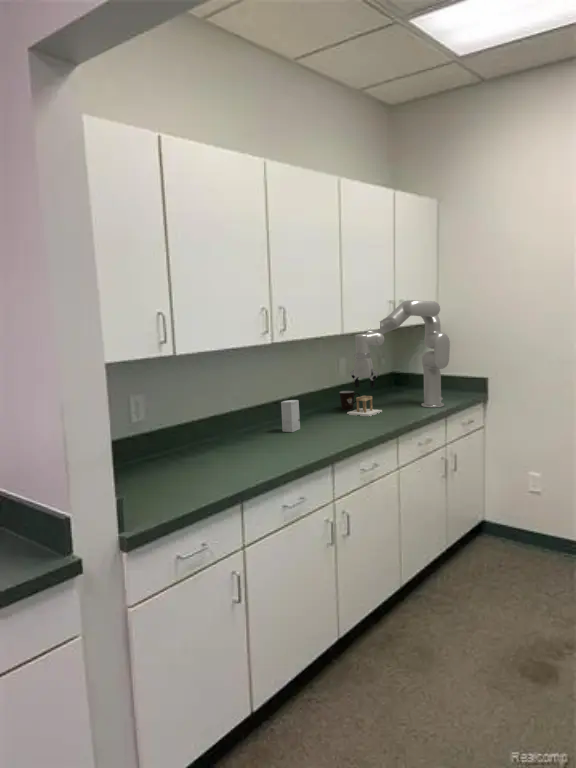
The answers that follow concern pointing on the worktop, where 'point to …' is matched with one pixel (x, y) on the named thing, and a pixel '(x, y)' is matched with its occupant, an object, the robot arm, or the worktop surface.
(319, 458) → the worktop surface
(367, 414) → the white board
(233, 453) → the worktop surface
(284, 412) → the skincare box
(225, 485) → the worktop surface
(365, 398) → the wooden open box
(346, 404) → the coffee mug
